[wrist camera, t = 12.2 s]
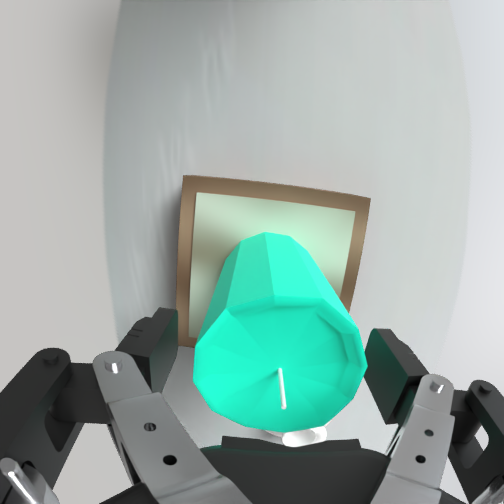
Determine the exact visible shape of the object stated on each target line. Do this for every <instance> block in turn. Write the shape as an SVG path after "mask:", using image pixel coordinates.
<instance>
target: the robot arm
mask: <svg viewBox="0 0 504 504" xmlns="http://www.w3.org/2000/svg"><path fill="white" fill-rule="evenodd" d="M177 351H178V310H174V309H168V308H161V307H159V308H158V310H157V311H156V312H155V314H154V315H153V317H152V318H149V317H144V318H143V319H141V320H139V321H137V322H136V323H135V324H134V326H133V327H132V328H131V330H130V331H129V332H128V333H127V335H126V336H125V337H124V339H123V340H122V341H121V343H120V344H119V345H118V347H117V348H116V349H115V351H108V352H104V353H101V354H99V355H98V356H96V357H95V359H94V360H93V363H89V364H88V363H87V364H86V363H71V360H70V356H69V354H68V353H67V352H66V351H64V350H62V349H59V348H47V349H43V350H41V351H39V352H37V353H36V354H35V355H34V356H33V357H32V358H31V359H30V360H29V362H27V364H26V365H25V366H24V367H23V368H22V369H21V370H20V371H19V372H18V373H17V374H16V376H15V377H14V378H13V379H12V380H11V381H10V382H9V384H8V385H7V386H6V387H5V388H4V389H3V390H2V392H1V393H0V504H60V503H59V500H58V498H57V496H56V495H55V493H54V492H53V491H52V490H53V487H54V485H55V483H56V481H57V479H58V476H59V474H60V472H61V470H62V468H63V466H64V463H65V462H66V459H67V457H68V455H69V453H70V451H71V449H72V447H73V445H74V443H75V441H76V439H77V437H78V435H79V433H80V431H81V429H82V427H83V425H84V423H99V424H107V427H108V430H109V432H110V434H111V437H112V440H113V442H114V444H115V446H116V449H117V451H118V453H119V456H120V458H121V460H122V462H123V465H124V467H125V469H126V472H127V474H128V477H129V479H130V481H131V483H132V485H133V486H132V487H130V488H128V489H126V490H125V491H123V492H121V493H119V494H117V495H115V496H113V497H111V498H109V499H107V500H106V501H104V502H101V503H99V504H466V503H464V502H462V501H460V500H459V499H457V498H455V497H453V496H452V495H450V494H448V493H446V492H445V491H443V490H441V489H440V488H439V486H440V482H441V479H442V475H443V471H444V468H445V464H446V460H447V456H448V458H449V459H450V462H451V464H452V466H453V468H454V470H455V473H456V475H457V477H458V479H459V481H460V483H461V486H462V488H463V491H464V493H465V495H466V497H467V500H468V502H469V504H504V397H503V396H502V395H501V394H500V392H499V391H498V390H497V388H496V387H495V386H493V385H492V384H490V383H489V382H486V381H483V380H475V381H473V382H472V383H471V385H470V387H469V389H468V390H467V391H462V390H454V387H453V384H452V383H451V382H450V381H449V380H448V379H446V378H445V377H443V376H440V375H436V374H429V372H428V371H427V370H426V368H425V367H424V366H423V364H422V363H421V362H420V360H418V358H417V357H416V355H415V354H413V351H412V350H411V349H410V348H409V346H407V345H406V344H405V343H403V342H402V341H400V340H399V339H398V338H397V337H396V336H395V334H394V333H393V332H392V330H391V329H376V328H374V329H373V330H372V331H371V333H370V336H369V339H368V343H367V346H366V349H365V352H364V353H365V357H366V361H367V365H368V367H367V369H366V371H365V374H364V378H365V381H366V383H367V385H368V387H369V389H370V391H371V393H372V396H373V398H374V400H375V402H376V404H377V406H378V409H379V411H380V413H381V415H382V417H383V420H384V422H385V424H386V425H387V424H396V423H398V427H397V429H396V431H395V433H394V435H393V437H392V439H391V441H390V443H389V445H388V448H387V450H386V452H385V454H382V453H379V452H377V451H373V450H369V449H364V448H361V446H360V443H359V439H350V440H327V441H323V442H319V443H314V444H309V445H304V446H299V447H290V446H285V445H281V444H276V443H272V442H268V441H264V440H260V439H251V438H239V437H229V436H222V443H221V445H217V446H209V447H204V448H200V449H199V448H198V447H197V445H196V444H195V443H194V441H193V440H192V439H191V437H190V436H189V434H188V433H187V432H186V430H185V429H184V427H183V426H182V424H181V423H180V422H179V420H178V419H177V417H176V416H175V414H174V413H173V411H172V410H171V408H170V407H169V405H168V404H167V402H166V401H165V399H164V398H163V396H162V395H161V392H162V390H163V388H164V385H165V383H166V380H167V378H168V375H169V373H170V371H171V368H172V366H173V363H174V361H175V359H176V356H177ZM481 425H482V426H483V428H484V429H485V431H486V432H487V434H488V436H489V442H488V445H487V447H486V449H485V450H484V451H483V449H482V448H481V446H480V444H479V442H478V441H477V439H476V437H475V436H474V435H475V434H476V433H477V431H478V429H479V428H480V426H481Z"/></svg>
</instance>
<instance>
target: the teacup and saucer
mask: <svg viewBox="0 0 504 504" xmlns="http://www.w3.org/2000/svg"><path fill="white" fill-rule="evenodd" d="M331 420H332V419H331ZM331 420H330V421H331ZM330 421H329V422H330ZM329 422H328V423H329ZM328 423H327V424H328ZM327 424H326V425H327ZM326 425H325V426H326ZM325 426H322V427H317V428H311V429H306V430H300V431H293V432H287V433H282V432H275V431H268V430H265V431H267V432H268V433H270V434H272V435H275V436H278V437H282V442H283V444H284V445H285V446H290V447H299V446H304V445H309V444H314V443H319V442H323V441H325V439H326V436H327V432H326V429H325V428H324V427H325Z"/></svg>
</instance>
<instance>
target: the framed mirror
mask: <svg viewBox="0 0 504 504" xmlns="http://www.w3.org/2000/svg"><path fill="white" fill-rule="evenodd" d="M370 200H371V198H367V197H362V196H357V195H352V194H346V193H340V192H334V191H327V190H320V189H313V188H306V187H299V186H292V185H284V184H276V183H267V182H259V181H249V180H240V179H230V178H219V177H208V176H195V175H183V184H182V195H181V208H180V222H179V238H178V257H177V283H176V310H178V345H179V346H185V347H192V348H195V345H196V342H197V339H198V336H199V334H200V331H201V328H202V325H203V322H204V319H205V316H206V314H207V311H208V308H209V305H210V302H211V299H212V297H213V294H214V291H215V288H216V285H217V283H218V280H219V277H220V274H221V271H222V269H223V266H224V263H225V260H226V258H227V257H228V256H229V255H230V254H231V252H232V251H233V250H234V249H235V247H236V246H237V245H238V244H239V243H240V241H241V240H244V239H246V238H249V237H252V236H255V235H257V234H260V233H263V232H270V233H276V234H282V235H288V236H290V237H292V238H293V239H294V240H295V241H296V242H298V243H299V244H300V245H301V246H302V247H304V248H305V249H306V250H307V251H308V252H309V254H310V255H311V257H312V258H313V260H314V261H315V263H316V264H317V266H318V267H319V269H320V270H321V272H322V273H323V275H324V276H325V278H326V279H327V281H328V282H329V284H330V285H331V287H332V288H333V290H334V291H335V293H336V295H337V296H338V298H339V299H340V301H341V302H342V304H343V305H344V307H345V309H346V310H347V312H348V313H349V311H350V306H351V302H352V298H353V293H354V289H355V284H356V280H357V275H358V270H359V265H360V260H361V255H362V249H363V244H364V238H365V232H366V226H367V220H368V214H369V207H370Z"/></svg>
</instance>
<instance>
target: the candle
mask: <svg viewBox="0 0 504 504" xmlns="http://www.w3.org/2000/svg"><path fill="white" fill-rule="evenodd" d="M367 367H368V365H367V361H366V357H365V353H364V349H363V345H362V341H361V337H360V333H359V329H358V328H357V326H356V324H355V323H354V321H353V320H352V318H351V316H350V315H349V313H348V312H347V310H346V309H345V307H344V305H343V304H342V302H341V301H340V299H339V298H338V296H337V295H336V293H335V291H334V290H333V288H332V287H331V285H330V284H329V282H328V281H327V279H326V278H325V276H324V275H323V273H322V272H321V270H320V269H319V267H318V266H317V264H316V263H315V261H314V260H313V258H312V257H311V255H310V254H309V252H308V251H307V250H306V249H305V248H304V247H302V246H301V245H300V244H299V243H298V242H296V241H295V240H294V239H293V238H292V237H290V236H288V235H282V234H276V233H270V232H263V233H260V234H257V235H255V236H252V237H249V238H246V239H244V240H241V241H240V243H239V244H238V245H237V246H236V247H235V249H234V250H233V251H232V252H231V254H230V255H229V256H228V257H227V258H226V260H225V263H224V266H223V269H222V271H221V274H220V277H219V280H218V283H217V285H216V288H215V291H214V294H213V297H212V299H211V302H210V305H209V308H208V311H207V314H206V316H205V319H204V322H203V325H202V328H201V331H200V334H199V336H198V339H197V342H196V345H195V356H194V370H193V382H194V384H195V385H196V387H197V389H198V390H199V392H200V393H201V395H202V396H203V398H204V400H205V401H206V403H207V404H208V406H209V407H210V409H211V410H212V411H214V412H216V413H218V414H220V415H222V416H224V417H226V418H228V419H230V420H232V421H234V422H236V423H238V424H241V425H243V426H245V427H251V428H256V429H262V430H268V431H275V432H282V433H287V432H293V431H300V430H306V429H311V428H317V427H322V426H325V425H326V424H327V423H328V422H329V421H330V420H331V419H332V418H333V417H335V416H336V415H337V414H338V413H339V412H340V411H341V410H342V409H343V408H344V407H345V406H346V405H347V404H348V403H349V402H350V401H351V400H352V399H353V398H354V396H355V394H356V392H357V389H358V387H359V385H360V383H361V380H362V378H363V376H364V374H365V371H366V369H367Z"/></svg>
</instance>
